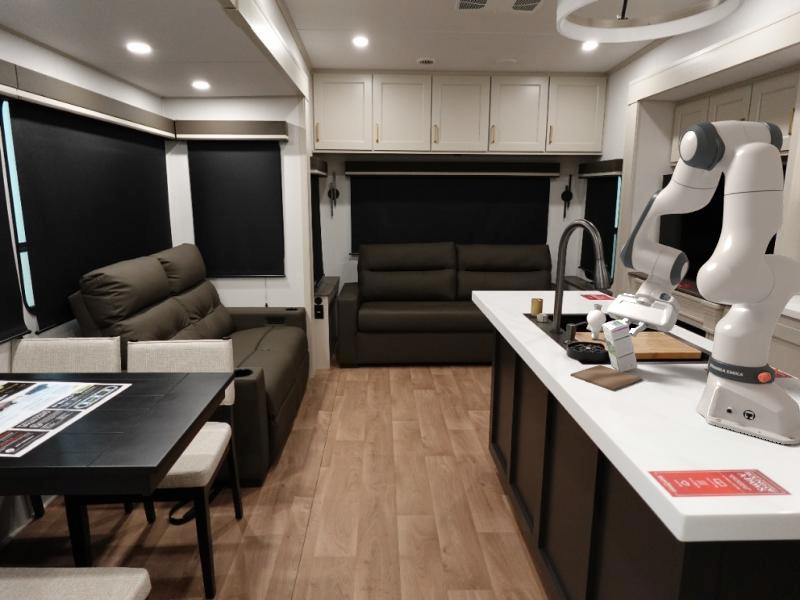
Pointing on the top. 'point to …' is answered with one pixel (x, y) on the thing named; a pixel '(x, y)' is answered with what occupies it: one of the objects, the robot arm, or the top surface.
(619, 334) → the syrup box
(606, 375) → the walnut board
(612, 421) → the top surface
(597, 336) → the lightbulb
